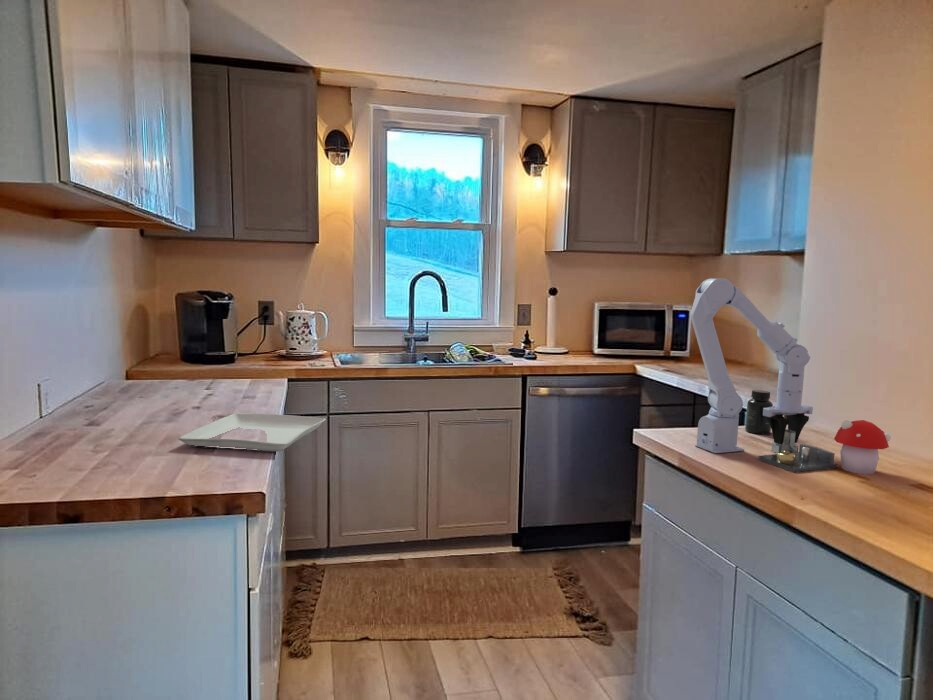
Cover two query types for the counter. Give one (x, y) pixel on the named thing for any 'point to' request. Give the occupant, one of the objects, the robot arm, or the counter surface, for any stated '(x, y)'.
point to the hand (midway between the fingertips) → (785, 442)
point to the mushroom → (861, 445)
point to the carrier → (802, 459)
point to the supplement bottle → (758, 413)
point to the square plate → (275, 426)
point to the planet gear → (786, 443)
